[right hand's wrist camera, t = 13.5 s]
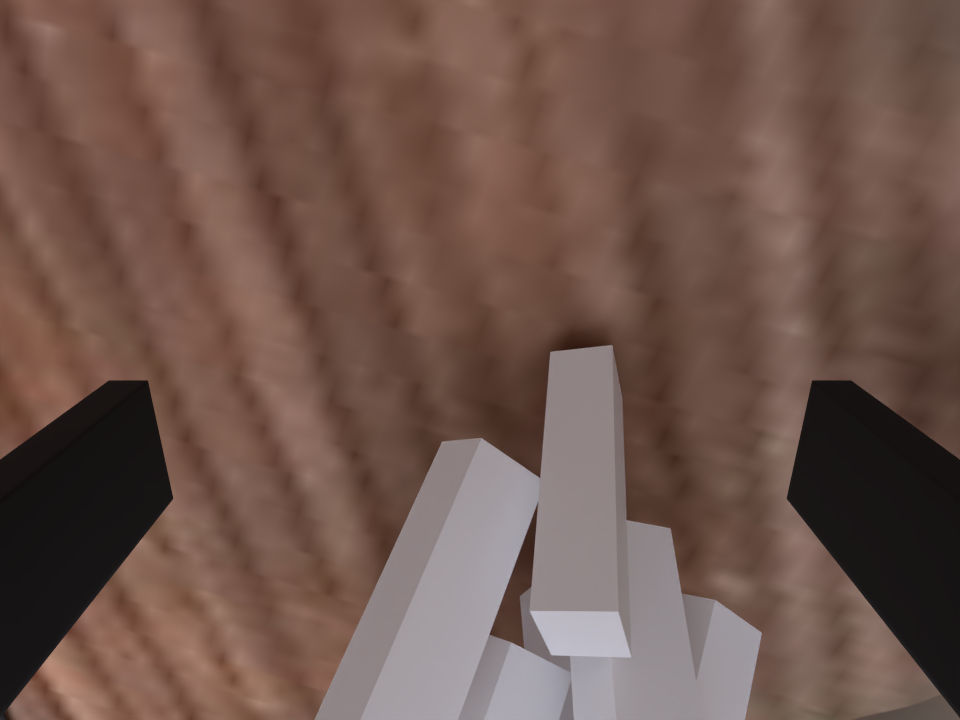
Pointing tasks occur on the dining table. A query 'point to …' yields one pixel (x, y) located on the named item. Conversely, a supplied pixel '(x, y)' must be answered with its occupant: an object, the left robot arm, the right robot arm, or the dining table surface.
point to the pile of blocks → (542, 589)
